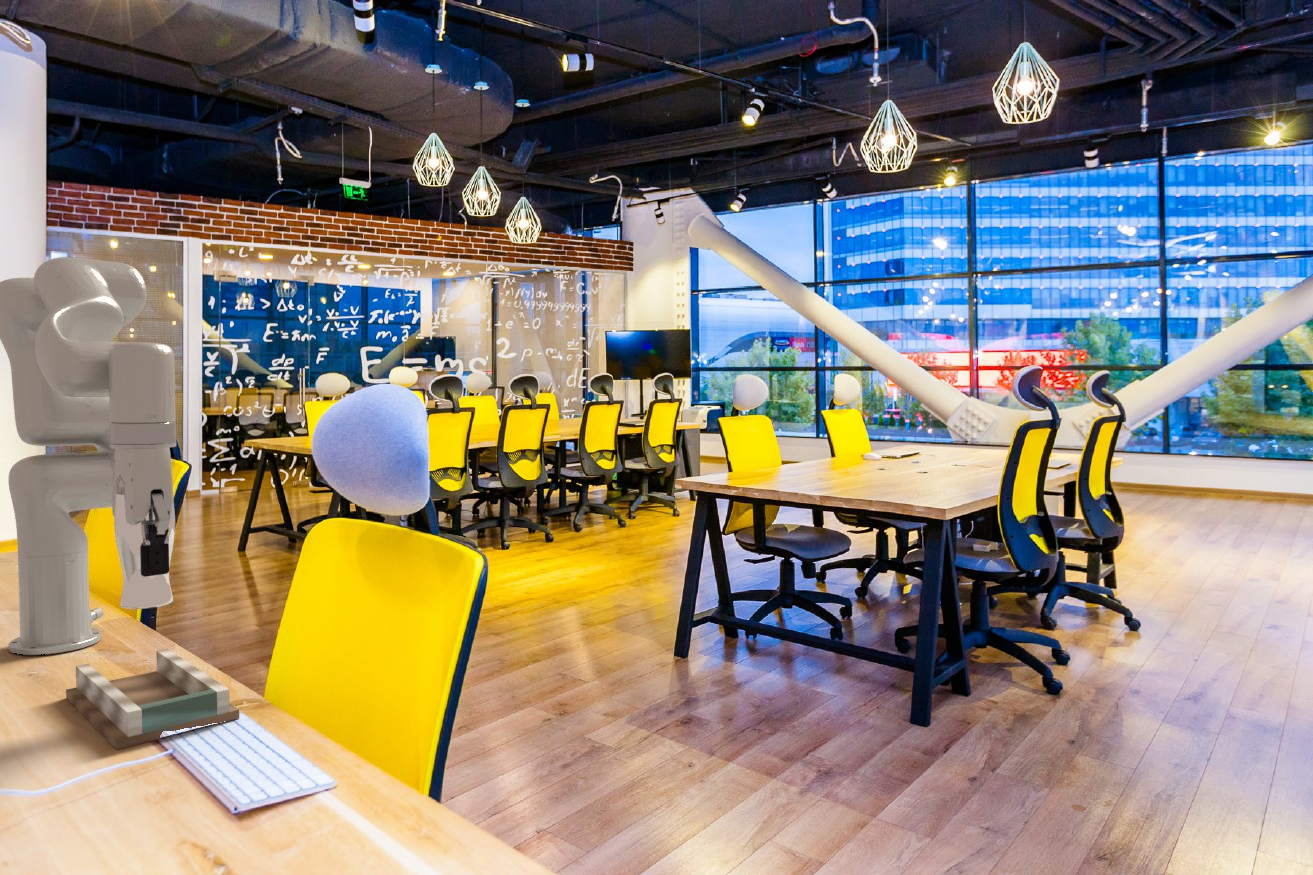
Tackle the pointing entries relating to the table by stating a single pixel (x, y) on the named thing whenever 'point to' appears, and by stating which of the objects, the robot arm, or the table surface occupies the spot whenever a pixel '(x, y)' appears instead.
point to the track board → (150, 701)
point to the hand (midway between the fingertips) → (146, 569)
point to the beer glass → (139, 562)
